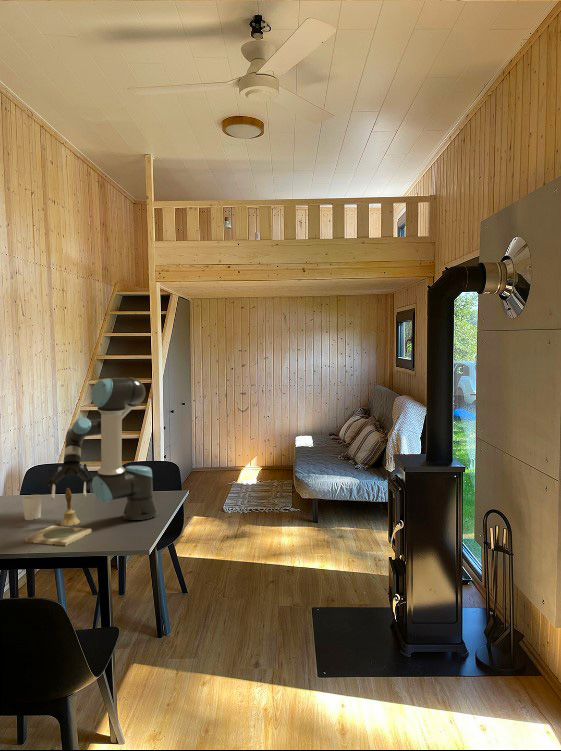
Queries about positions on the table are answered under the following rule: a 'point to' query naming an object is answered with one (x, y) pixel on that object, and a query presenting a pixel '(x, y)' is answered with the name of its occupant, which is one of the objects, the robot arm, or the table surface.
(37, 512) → the white cup
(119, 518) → the table surface
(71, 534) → the bell board
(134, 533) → the table surface
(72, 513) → the hand bell
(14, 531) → the table surface
